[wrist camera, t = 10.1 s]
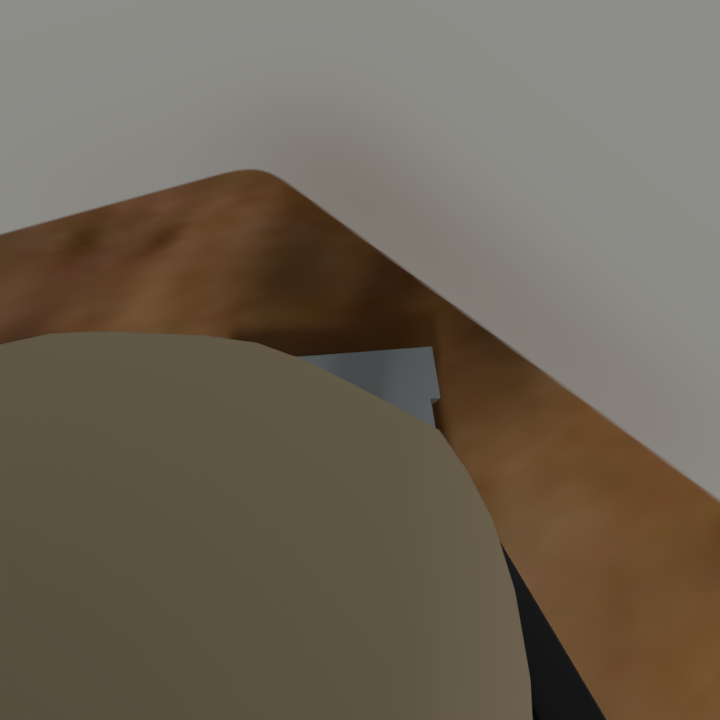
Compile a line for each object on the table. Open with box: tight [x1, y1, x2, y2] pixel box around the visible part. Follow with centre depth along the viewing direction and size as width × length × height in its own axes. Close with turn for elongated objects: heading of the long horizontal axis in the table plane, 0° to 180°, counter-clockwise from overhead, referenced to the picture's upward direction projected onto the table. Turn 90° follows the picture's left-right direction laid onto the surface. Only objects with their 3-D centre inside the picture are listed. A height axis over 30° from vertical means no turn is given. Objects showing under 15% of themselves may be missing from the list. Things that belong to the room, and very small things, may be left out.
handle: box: [0, 331, 533, 720], centre depth 9 cm, size 5×6×15 cm
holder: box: [297, 347, 440, 428], centre depth 16 cm, size 14×13×3 cm
